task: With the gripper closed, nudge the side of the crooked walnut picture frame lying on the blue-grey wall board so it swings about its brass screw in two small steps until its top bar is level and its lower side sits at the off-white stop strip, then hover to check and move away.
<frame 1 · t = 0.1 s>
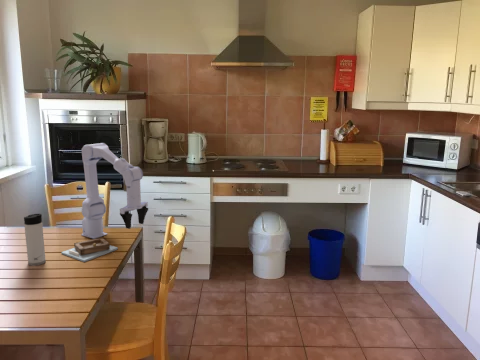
hand: (134, 225, 181), 10 cm above the table, tool pointing down, fingers open, 7 cm apart
frame: (91, 245, 177), point 3 cm above the table, hinge at -20.0°
wall board: (90, 251, 178), on the table
travel mug: (37, 263, 165), on the table
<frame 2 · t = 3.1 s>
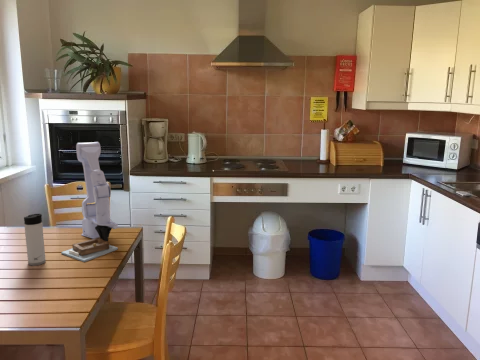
hand: (104, 241, 184), 2 cm above the table, tool pointing down, fingers closed
frame: (90, 245, 177), point 3 cm above the table, hinge at -12.6°, touching gripper
everything else where it was.
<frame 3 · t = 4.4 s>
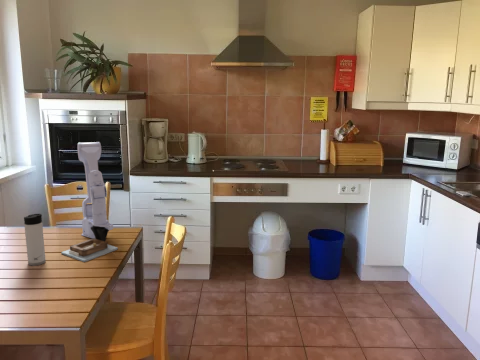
hand: (101, 242, 183), 2 cm above the table, tool pointing down, fingers closed on frame, 2 cm apart
frame: (89, 245, 176), point 3 cm above the table, hinge at 0.4°, touching gripper
everything else where it was.
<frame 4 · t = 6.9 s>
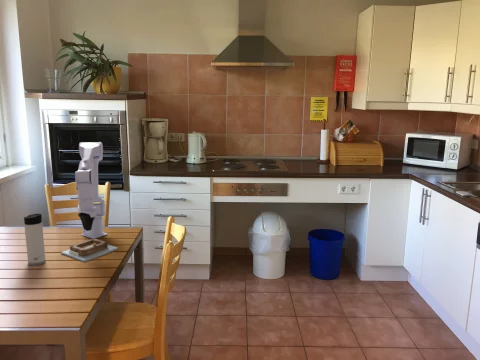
hand: (87, 229, 175), 10 cm above the table, tool pointing down, fingers closed
frame: (89, 245, 176), point 3 cm above the table, hinge at 0.4°
everything else where it was.
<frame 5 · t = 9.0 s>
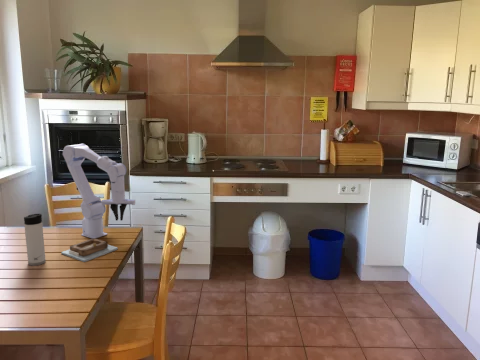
hand: (119, 219, 189), 10 cm above the table, tool pointing down, fingers closed
nothing on the table moved.
at the end: frame at +0° (first picture: -20°) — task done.
